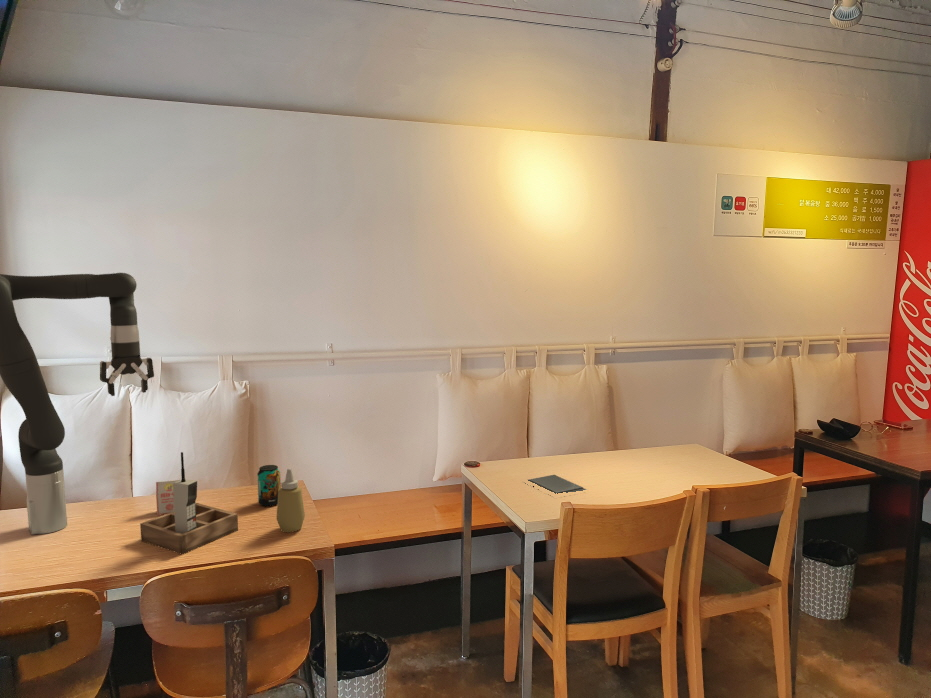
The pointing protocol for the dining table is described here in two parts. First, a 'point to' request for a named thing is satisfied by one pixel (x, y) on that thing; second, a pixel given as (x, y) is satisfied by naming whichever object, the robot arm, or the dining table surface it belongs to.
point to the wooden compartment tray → (208, 530)
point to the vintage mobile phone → (185, 503)
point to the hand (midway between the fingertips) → (128, 393)
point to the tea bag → (165, 497)
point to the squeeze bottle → (290, 504)
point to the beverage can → (268, 485)
